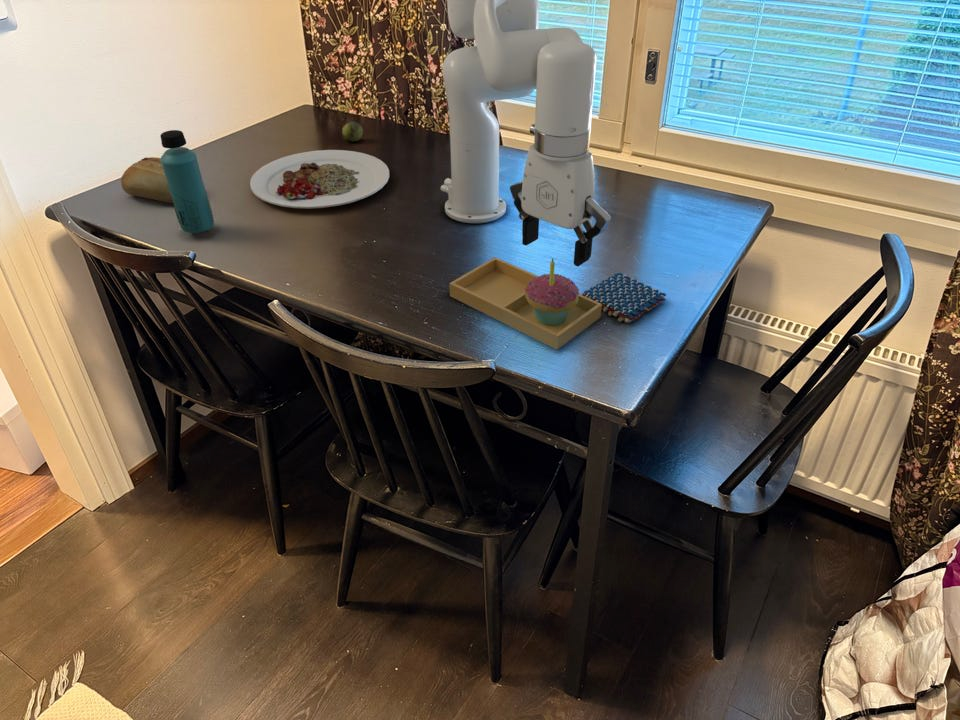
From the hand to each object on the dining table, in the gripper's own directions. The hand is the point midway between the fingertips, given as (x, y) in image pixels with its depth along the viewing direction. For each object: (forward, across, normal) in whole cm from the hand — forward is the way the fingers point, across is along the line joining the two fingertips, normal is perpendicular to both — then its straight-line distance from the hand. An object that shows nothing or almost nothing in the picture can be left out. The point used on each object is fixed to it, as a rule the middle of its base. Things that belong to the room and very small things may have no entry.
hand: (555, 252), depth 108 cm
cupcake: (+12, 0, 0) cm, 12 cm away
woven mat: (+13, +6, +12) cm, 19 cm away
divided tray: (+12, -6, 0) cm, 14 cm away
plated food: (+12, -70, +8) cm, 71 cm away
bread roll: (+12, -91, -19) cm, 94 cm away
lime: (+12, -84, +29) cm, 90 cm away
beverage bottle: (+12, -70, -22) cm, 74 cm away
